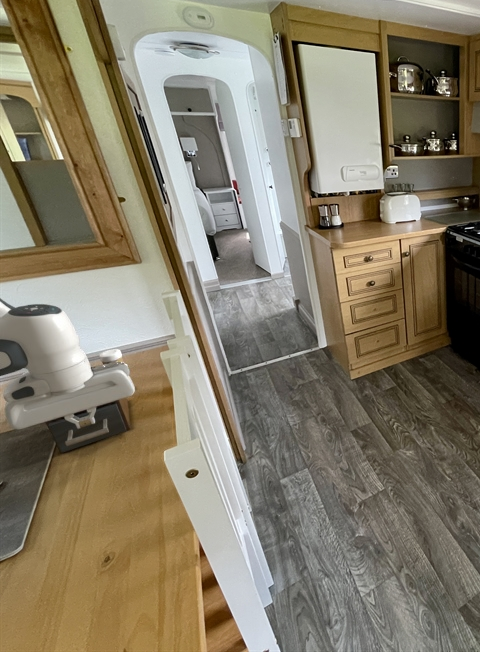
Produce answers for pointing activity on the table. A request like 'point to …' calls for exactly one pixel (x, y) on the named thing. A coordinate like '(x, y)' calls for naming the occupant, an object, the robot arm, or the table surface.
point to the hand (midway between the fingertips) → (86, 424)
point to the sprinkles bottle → (111, 356)
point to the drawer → (88, 428)
